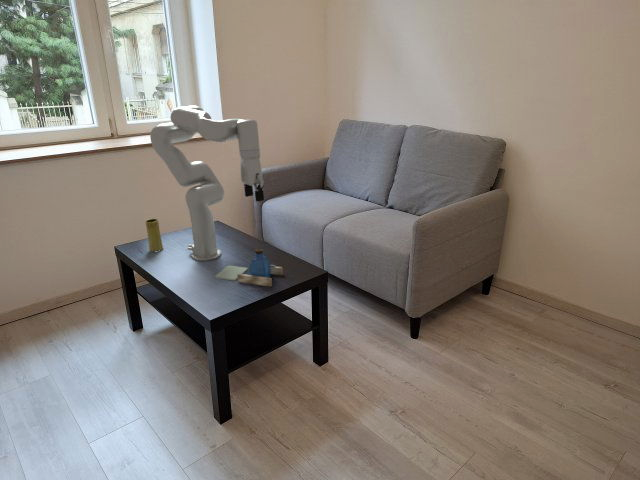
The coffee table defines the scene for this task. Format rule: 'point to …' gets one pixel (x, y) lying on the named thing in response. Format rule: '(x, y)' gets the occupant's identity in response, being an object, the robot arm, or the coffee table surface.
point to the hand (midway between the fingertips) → (254, 198)
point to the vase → (154, 235)
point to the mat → (231, 272)
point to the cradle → (258, 279)
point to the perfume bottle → (260, 264)
